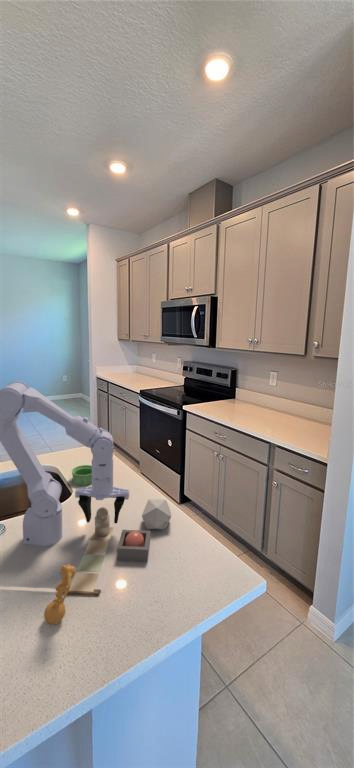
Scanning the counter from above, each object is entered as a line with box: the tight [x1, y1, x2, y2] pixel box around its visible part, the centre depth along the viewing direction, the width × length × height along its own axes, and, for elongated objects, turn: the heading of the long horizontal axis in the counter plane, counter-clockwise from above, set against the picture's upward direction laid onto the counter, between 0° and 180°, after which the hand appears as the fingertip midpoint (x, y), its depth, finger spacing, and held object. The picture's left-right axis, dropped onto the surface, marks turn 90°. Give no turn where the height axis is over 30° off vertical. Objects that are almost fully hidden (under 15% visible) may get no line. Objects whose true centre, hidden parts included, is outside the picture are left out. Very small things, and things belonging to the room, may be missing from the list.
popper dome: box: [125, 531, 145, 547], centre depth 85 cm, size 5×5×5 cm
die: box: [141, 498, 172, 530], centre depth 97 cm, size 8×9×10 cm
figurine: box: [43, 563, 77, 625], centre depth 65 cm, size 8×6×12 cm
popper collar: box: [116, 529, 151, 563], centre depth 86 cm, size 8×8×4 cm
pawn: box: [94, 506, 111, 537], centre depth 92 cm, size 4×4×8 cm
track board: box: [62, 526, 114, 597], centre depth 84 cm, size 8×24×1 cm, turn 0°
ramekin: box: [71, 464, 92, 486], centre depth 124 cm, size 9×9×4 cm
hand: (102, 520), depth 92 cm, fingers open, 7 cm apart
